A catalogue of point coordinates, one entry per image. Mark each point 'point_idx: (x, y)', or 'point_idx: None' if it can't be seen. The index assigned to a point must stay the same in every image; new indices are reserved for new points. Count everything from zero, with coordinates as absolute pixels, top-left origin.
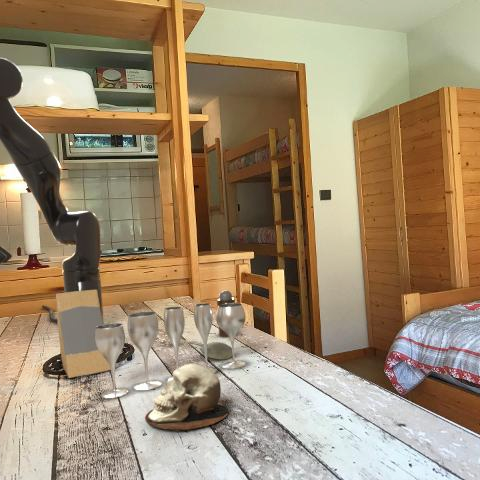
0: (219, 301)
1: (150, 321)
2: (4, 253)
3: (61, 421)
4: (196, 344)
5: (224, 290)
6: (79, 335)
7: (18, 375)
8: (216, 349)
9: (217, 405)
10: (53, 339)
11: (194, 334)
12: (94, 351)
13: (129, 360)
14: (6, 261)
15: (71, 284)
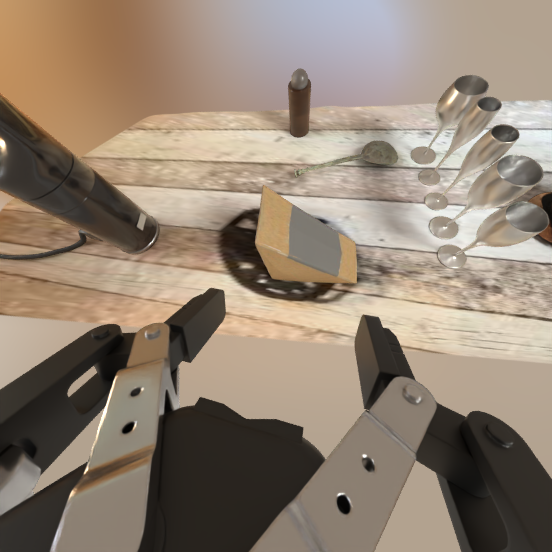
0: (303, 92)
1: (530, 171)
2: (211, 309)
3: (513, 311)
4: (348, 160)
5: (299, 70)
6: (323, 250)
7: (297, 327)
8: (392, 152)
9: (547, 196)
10: (145, 272)
11: (268, 152)
12: (341, 246)
13: (327, 222)
14: (225, 309)
15: (82, 207)
